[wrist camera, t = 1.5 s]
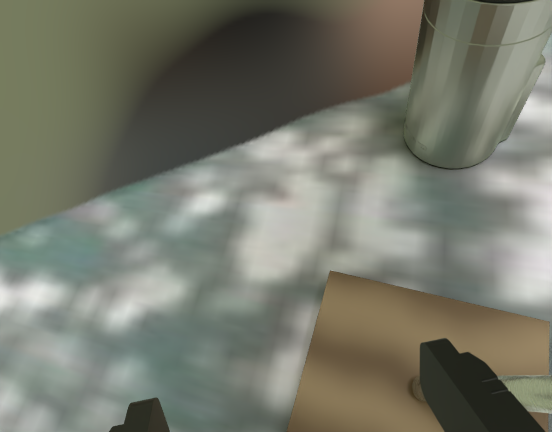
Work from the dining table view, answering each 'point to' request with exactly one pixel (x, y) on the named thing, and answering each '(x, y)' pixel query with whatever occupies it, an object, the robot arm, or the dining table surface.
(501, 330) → the walnut switch board
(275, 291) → the dining table surface
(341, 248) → the dining table surface
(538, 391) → the steel toggle lever
